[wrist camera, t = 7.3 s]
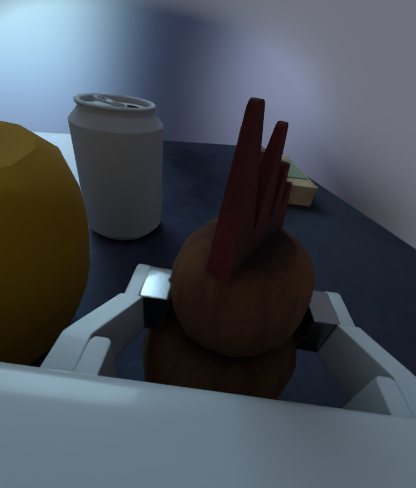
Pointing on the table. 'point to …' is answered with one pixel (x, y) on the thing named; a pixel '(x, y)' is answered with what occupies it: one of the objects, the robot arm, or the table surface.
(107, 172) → the can
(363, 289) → the table surface
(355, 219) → the table surface
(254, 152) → the wooden figurine
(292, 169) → the l-shaped display stand
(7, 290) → the apple
